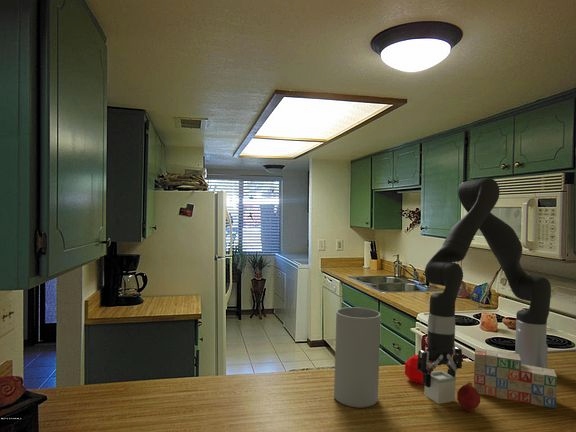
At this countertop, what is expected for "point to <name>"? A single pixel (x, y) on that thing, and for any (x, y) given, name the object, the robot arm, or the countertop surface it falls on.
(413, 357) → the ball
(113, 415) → the countertop surface
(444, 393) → the socket block
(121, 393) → the countertop surface
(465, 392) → the onion
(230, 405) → the countertop surface
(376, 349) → the cylinder vase
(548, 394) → the stack of blocks
